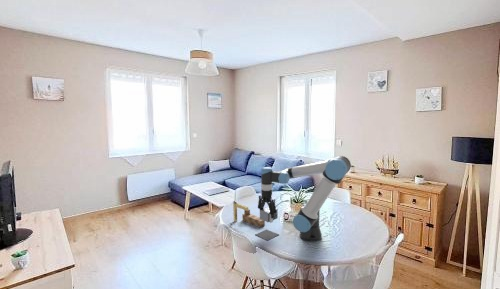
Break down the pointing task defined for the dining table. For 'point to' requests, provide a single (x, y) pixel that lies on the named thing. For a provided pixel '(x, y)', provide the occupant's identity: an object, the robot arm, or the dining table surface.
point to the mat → (267, 234)
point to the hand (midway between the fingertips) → (266, 220)
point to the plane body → (252, 219)
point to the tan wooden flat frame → (236, 209)
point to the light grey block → (267, 214)
